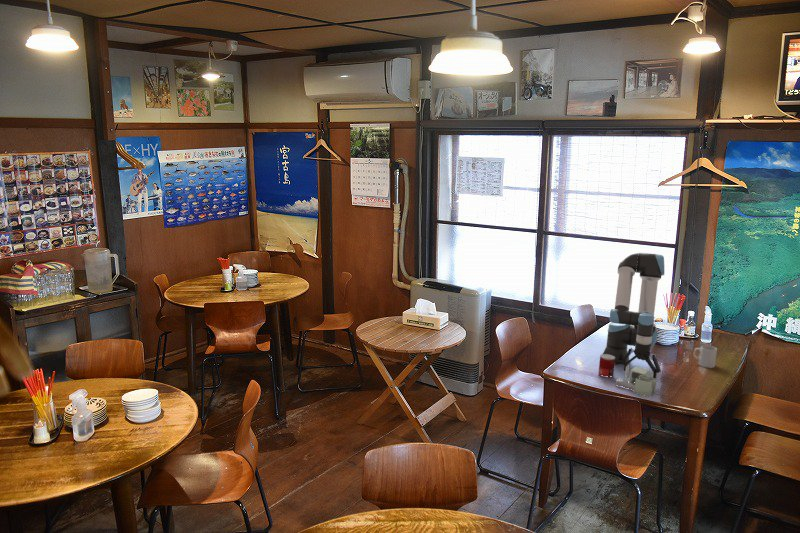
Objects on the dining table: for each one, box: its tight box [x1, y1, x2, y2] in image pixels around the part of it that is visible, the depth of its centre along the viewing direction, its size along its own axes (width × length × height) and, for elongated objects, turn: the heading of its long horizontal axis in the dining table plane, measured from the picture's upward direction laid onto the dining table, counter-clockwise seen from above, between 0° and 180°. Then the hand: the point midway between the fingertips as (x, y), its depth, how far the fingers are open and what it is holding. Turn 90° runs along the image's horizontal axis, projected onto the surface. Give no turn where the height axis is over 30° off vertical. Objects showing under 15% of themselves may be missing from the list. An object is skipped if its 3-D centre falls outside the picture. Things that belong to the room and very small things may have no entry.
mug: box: [693, 344, 718, 369], centre depth 364 cm, size 12×8×11 cm
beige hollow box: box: [628, 366, 650, 383], centre depth 332 cm, size 9×7×8 cm
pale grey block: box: [615, 375, 657, 398], centre depth 324 cm, size 18×7×8 cm, turn 50°
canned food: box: [598, 353, 616, 377], centre depth 343 cm, size 8×8×11 cm
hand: (638, 380), depth 332 cm, fingers open, 13 cm apart
